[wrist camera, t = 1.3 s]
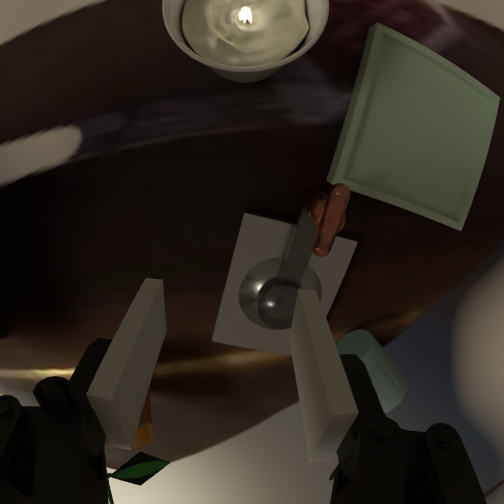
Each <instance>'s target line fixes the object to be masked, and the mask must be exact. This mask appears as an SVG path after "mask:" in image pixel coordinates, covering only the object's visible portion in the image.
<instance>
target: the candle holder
mask: <svg viewBox="0 0 504 504" xmlns="http://www.w3.org/2000/svg"><path fill="white" fill-rule="evenodd" d="M162 12H163V19H164V23H165V26H166V28H167V31H168V33H169V34H170V36H171V38H172V39H173V41H174V42H175V43H176V44H177V45H178V46H179V48H180V49H182V50H183V51H184V52H185V53H186V54H187V55H189V56H190V57H192V58H193V59H195V60H197V61H199V62H201V63H202V64H203V65H205V66H206V67H207V68H209V69H210V70H211V71H213V72H214V73H215V74H217V75H219V76H220V77H222V78H224V79H227V80H229V81H233V82H238V83H253V82H258V81H262V80H265V79H267V78H269V77H271V76H273V75H274V74H276V73H277V72H279V71H280V70H281V69H283V68H284V67H285V66H286V65H288V64H289V63H290V62H292V61H294V60H295V59H297V58H299V57H300V56H302V55H303V54H304V53H306V52H307V51H308V50H309V49H310V48H311V47H312V46H313V45H314V44H315V43H316V42H317V40H318V39H319V38H320V36H321V34H322V33H323V31H324V29H325V26H326V24H327V20H328V16H329V0H163V4H162Z"/></svg>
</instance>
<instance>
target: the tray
mask: <svg viewBox="0 0 504 504" xmlns="http://www.w3.org/2000/svg"><path fill="white" fill-rule="evenodd" d="M499 101H500V97H498V96H497V95H496V94H495V93H493V92H492V91H491V90H490V89H488V88H487V87H486V86H484V85H483V84H482V83H480V82H479V81H478V80H476V79H475V78H473V77H472V76H471V75H469V74H468V73H466V72H465V71H463V70H462V69H460V68H459V67H457V66H456V65H454V64H453V63H451V62H450V61H448V60H447V59H445V58H443V57H442V56H440V55H438V54H437V53H435V52H433V51H432V50H430V49H428V48H427V47H425V46H423V45H421V44H419V43H418V42H416V41H414V40H412V39H410V38H408V37H406V36H404V35H402V34H401V33H399V32H397V31H395V30H392V29H390V28H388V27H386V26H384V25H382V24H380V23H378V22H377V23H376V24H374V25H373V26H371V27H370V28H369V31H368V35H367V39H366V43H365V47H364V51H363V55H362V59H361V62H360V66H359V70H358V74H357V78H356V81H355V85H354V89H353V92H352V96H351V99H350V103H349V106H348V110H347V113H346V117H345V120H344V124H343V127H342V131H341V134H340V137H339V141H338V144H337V147H336V151H335V154H334V157H333V160H332V164H331V167H330V170H329V173H328V176H327V179H326V180H327V181H328V182H330V183H331V184H332V185H334V184H336V183H343V184H345V185H347V186H348V188H349V189H350V190H351V191H354V192H357V193H360V194H363V195H366V196H369V197H372V198H375V199H378V200H381V201H384V202H387V203H390V204H392V205H395V206H398V207H401V208H403V209H406V210H409V211H412V212H414V213H417V214H419V215H422V216H425V217H427V218H430V219H432V220H435V221H437V222H440V223H442V224H445V225H447V226H450V227H452V228H455V229H457V230H460V231H461V230H462V228H463V225H464V223H465V220H466V217H467V215H468V212H469V209H470V207H471V204H472V201H473V198H474V195H475V192H476V189H477V186H478V183H479V180H480V177H481V174H482V171H483V167H484V164H485V160H486V157H487V153H488V149H489V146H490V142H491V138H492V134H493V129H494V125H495V121H496V116H497V111H498V106H499Z"/></svg>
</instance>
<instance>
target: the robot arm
mask: <svg viewBox="0 0 504 504" xmlns="http://www.w3.org/2000/svg"><path fill="white" fill-rule="evenodd" d="M6 329H7V319H6V314H5V310H4V307H3V304H2V302H1V300H0V339H1V338H2V336H3V335H4V334H5V332H6ZM166 331H167V330H166V318H165V305H164V291H163V280H159V279H148V278H146V279H145V281H144V283H143V284H142V286H141V288H140V290H139V291H138V293H137V295H136V297H135V299H134V301H133V302H132V304H131V306H130V308H129V310H128V312H127V314H126V315H125V317H124V319H123V321H122V323H121V325H120V327H119V329H118V331H117V333H116V334H115V336H114V338H113V340H110V339H104V338H97V339H96V340H95V341H94V342H92V343H91V344H90V345H89V346H88V347H87V349H86V351H85V353H84V355H83V357H82V358H81V360H80V362H79V365H77V367H76V369H75V371H74V373H73V374H72V376H71V378H70V380H69V381H68V380H67V379H65V378H63V377H58V376H53V377H47V378H45V379H43V380H41V381H40V382H39V383H38V384H37V385H36V386H35V388H34V390H33V394H34V396H35V398H36V400H37V401H38V403H39V405H40V406H39V407H38V406H21V404H20V402H19V401H18V399H17V398H15V397H13V396H11V395H3V396H0V504H109V502H108V491H107V478H106V460H105V452H104V449H103V443H104V440H105V437H106V439H107V441H108V443H109V445H110V446H114V447H119V448H123V449H128V450H131V449H132V445H133V441H134V438H135V434H136V430H137V427H138V423H139V420H140V416H141V413H142V409H143V406H144V402H145V399H146V395H147V392H148V389H149V385H150V382H151V379H152V375H153V372H154V369H155V366H156V362H157V359H158V356H159V353H160V350H161V347H162V343H163V340H164V337H165V334H166ZM289 342H290V347H291V353H292V359H293V365H294V370H295V376H296V382H297V388H298V394H299V400H300V406H301V412H302V418H303V424H304V429H305V436H306V442H307V448H308V455H309V461H310V462H316V461H328V460H332V459H333V458H334V456H335V454H336V453H337V455H338V459H339V464H338V465H337V467H336V468H335V470H334V471H333V473H332V474H331V476H330V479H329V480H333V478H334V483H333V490H332V496H331V501H330V504H487V503H486V501H485V498H484V495H483V492H482V489H481V487H480V484H479V481H478V479H477V476H476V474H475V471H474V469H473V466H472V464H471V461H470V459H469V456H468V454H467V452H466V449H465V447H464V445H463V443H462V440H461V438H460V436H459V434H458V432H457V431H456V430H455V429H454V428H453V427H451V426H450V425H447V424H444V423H436V424H434V425H431V426H430V427H429V428H428V430H427V431H426V432H418V431H409V430H404V429H401V428H400V427H399V425H398V424H397V423H396V422H395V421H393V420H392V419H390V418H387V417H386V415H385V413H384V411H383V408H382V405H381V403H380V400H379V398H378V395H377V393H376V390H375V388H374V385H373V384H372V380H371V378H370V376H369V373H368V371H367V368H366V366H365V364H364V362H363V361H362V360H361V359H360V358H359V357H358V356H357V355H356V354H339V353H338V350H337V347H336V345H335V342H334V339H333V336H332V333H331V330H330V328H329V325H328V322H327V319H326V317H325V314H324V311H323V308H322V306H321V303H320V300H319V298H318V295H317V292H316V290H311V289H298V293H297V299H296V304H295V310H294V315H293V321H292V326H291V331H290V336H289Z"/></svg>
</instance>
